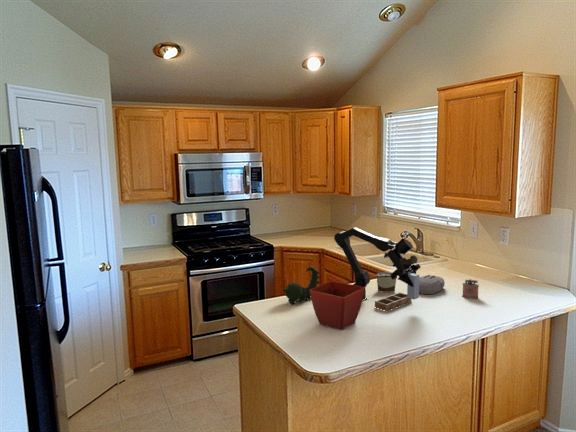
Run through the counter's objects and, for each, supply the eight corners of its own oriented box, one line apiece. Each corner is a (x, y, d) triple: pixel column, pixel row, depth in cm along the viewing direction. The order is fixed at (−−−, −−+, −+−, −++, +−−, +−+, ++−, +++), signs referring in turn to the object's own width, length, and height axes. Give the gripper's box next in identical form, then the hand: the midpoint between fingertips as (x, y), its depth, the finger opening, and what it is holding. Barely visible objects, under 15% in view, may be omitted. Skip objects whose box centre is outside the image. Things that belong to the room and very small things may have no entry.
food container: (395, 288, 246) (395, 272, 245) (397, 291, 240) (397, 275, 239) (374, 288, 248) (374, 271, 246) (375, 291, 241) (375, 274, 240)
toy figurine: (310, 296, 240) (276, 303, 224) (311, 264, 239) (278, 268, 222) (321, 300, 233) (288, 307, 217) (323, 267, 232) (289, 271, 215)
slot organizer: (386, 311, 210) (386, 305, 209) (374, 307, 216) (374, 301, 215) (411, 302, 223) (411, 295, 223) (399, 298, 229) (399, 292, 229)
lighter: (461, 297, 229) (462, 279, 228) (462, 295, 232) (463, 278, 230) (478, 299, 225) (478, 281, 224) (478, 297, 228) (479, 279, 227)
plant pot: (331, 312, 211) (331, 280, 208) (365, 321, 199) (365, 286, 196) (309, 324, 196) (308, 289, 194) (344, 334, 184) (343, 297, 182)
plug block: (414, 299, 207) (414, 276, 205) (407, 297, 210) (407, 274, 208) (418, 297, 209) (419, 274, 208) (411, 295, 212) (412, 272, 211)
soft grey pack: (423, 284, 254) (408, 292, 240) (424, 270, 253) (408, 278, 239) (448, 288, 244) (433, 297, 230) (448, 275, 243) (434, 282, 229)
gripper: (395, 253, 203) (415, 280, 197) (417, 248, 215) (436, 273, 208) (382, 266, 211) (400, 292, 204) (404, 260, 222) (422, 285, 215)
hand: (415, 285), depth 208 cm, fingers closed on plug block, 4 cm apart
